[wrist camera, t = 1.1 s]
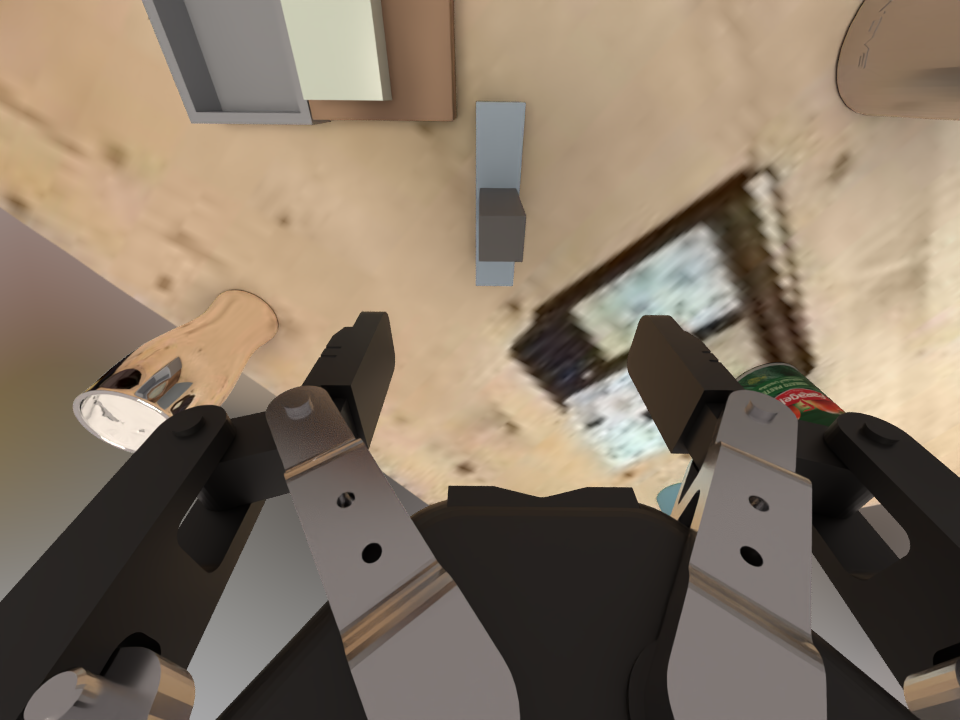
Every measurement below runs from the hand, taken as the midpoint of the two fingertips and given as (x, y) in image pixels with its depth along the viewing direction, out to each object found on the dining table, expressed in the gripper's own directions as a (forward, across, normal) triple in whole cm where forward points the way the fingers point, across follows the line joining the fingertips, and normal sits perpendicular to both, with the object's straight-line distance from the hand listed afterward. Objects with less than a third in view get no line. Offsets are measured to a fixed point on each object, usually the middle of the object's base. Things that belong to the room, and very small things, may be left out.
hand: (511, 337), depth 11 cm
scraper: (+22, 0, 0) cm, 22 cm away
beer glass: (+22, +25, +12) cm, 35 cm away
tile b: (+18, +9, -8) cm, 21 cm away
